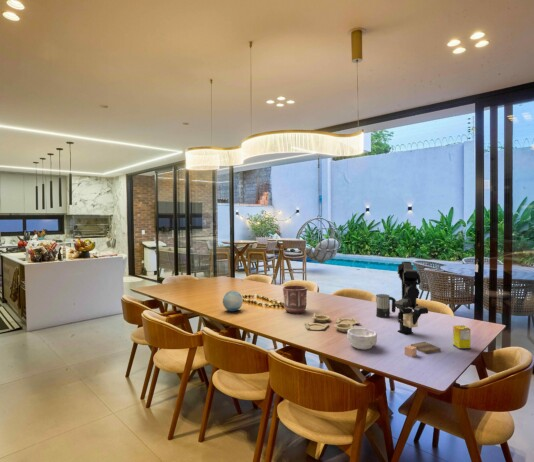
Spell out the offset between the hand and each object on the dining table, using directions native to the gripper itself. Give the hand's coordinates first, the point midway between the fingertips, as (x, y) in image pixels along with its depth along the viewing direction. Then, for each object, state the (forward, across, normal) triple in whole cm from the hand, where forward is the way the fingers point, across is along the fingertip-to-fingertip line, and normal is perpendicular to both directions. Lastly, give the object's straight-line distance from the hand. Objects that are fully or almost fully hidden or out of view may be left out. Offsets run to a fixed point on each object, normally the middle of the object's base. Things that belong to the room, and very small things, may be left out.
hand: (410, 323), depth 182 cm
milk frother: (+12, -55, +26) cm, 62 cm away
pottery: (+12, -86, -28) cm, 91 cm away
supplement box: (+12, +12, +23) cm, 29 cm away
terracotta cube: (+12, +10, -9) cm, 18 cm away
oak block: (+2, 0, 0) cm, 2 cm away
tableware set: (+13, -47, -20) cm, 52 cm away
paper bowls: (+12, -9, -25) cm, 29 cm away
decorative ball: (+12, -104, -70) cm, 127 cm away
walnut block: (+13, +6, +4) cm, 15 cm away
